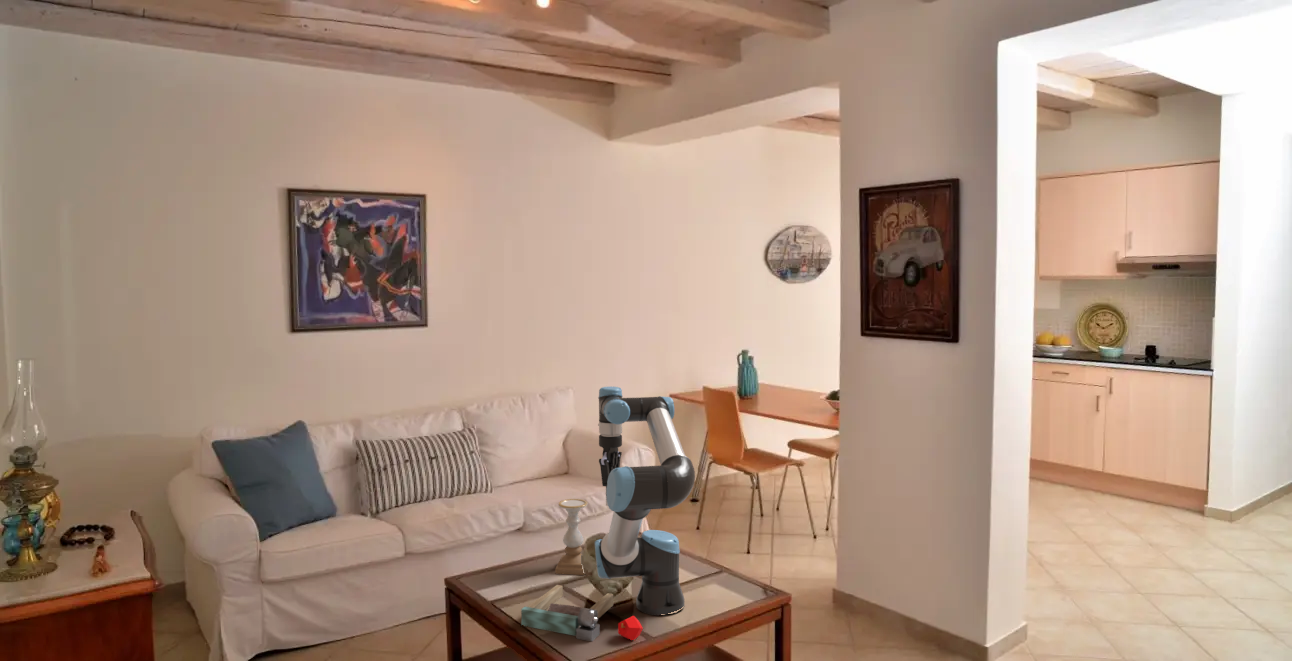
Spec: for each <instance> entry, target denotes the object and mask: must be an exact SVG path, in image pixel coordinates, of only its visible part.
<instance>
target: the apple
mask: <svg viewBox="0 0 1292 661" xmlns="http://www.w3.org/2000/svg"><path fill="white" fill-rule="evenodd" d="M617 626H618V628H617V633H618V634H619V635H620V636H621V637H623V638H624V639H628V640H629V639H630V640H629V641H632V640H634V639H635V640H636V638H637V637H638V636H639V637H640V635H641V634H642V631H643V629H644V628H643V626H642V624H641V622H640V620H638V618H637V617H636V616H635V615H632V616H630V617H628V618H626V619H623V620H621V621H620V622H618V623H617ZM639 637H638V638H639ZM638 638H637V639H638ZM635 640H634V641H635Z"/></svg>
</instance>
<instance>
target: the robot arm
mask: <svg viewBox="0 0 1292 661" xmlns="http://www.w3.org/2000/svg"><path fill="white" fill-rule="evenodd" d="M622 391H623V389H622V388H621V387H618V386H602V387H600V388H599V390H598V397H597V398H598V424H597V426H598V433H599V435H598V446H599V447H600V448H602V449H603V450H602V458H599V459H598V463H599V466H600V475H601V484H602V487H605V506H606V507H608V509H609V510H611V511H612V512H613V513H612V518H611V521H610V526H609V531H608V532H607V533H606V534H605V535H604V536H603V537H602V539H601V538H600V539H597V540H595V541H594V550H595V551H594V552H595V562H596V569H597V570H596V572H597V576H598V577H599V578H600V579H608V580H610V579H617V578H628V577H629V578H631V577H641V584H640V587H639V589H638V593H637V596H636V601H635V602H636V603H635V604H636V608H637V610H638V611H639V612H642V613H644V614H647V615H651V616H659V615H661V614H668V613H671V612H674V611H677V610H679V609H681V608H682V607H683V606H684V607H685V597H684V594H683V591H682V587H681V585H680V553H681V551H680V541H679V538H678V537H677V536H676V535H675V534H673V533H671V532H668V531H665V530H659V529H658V530H657V529H648V530H645V531H642V534H641V536H640V537H638V536H639V533H640V530H641V527H642V522H643V520H644V519H645V518H646V517H647V516H648V515H649V514H650V512H651V510H660V509H661V510H662V509H672V508H675V507H677V506H678V505H680V504H682V503H683V502H684V501H685V500H686V499H687V498H688V496H690V494H691V492H692V490H693V488H694V486H695V482H696V471H695V468H694V465H693V462H692V460H691V459H690V458H689V457H688V456H686V453H685V450H684V449H683V448H684V447H683V445H682V443H681V440H680V438H679V435H678V433H677V429H676V427H675V424H674V422H673V419H674V416H675V404H674V403H675V402H674V400H673V398H672V397H669V396H645V397H642V396H641V397H640V396H639V397H623V392H622ZM630 422H633V423H634V422H646V423H647V427H648V429H649V432H650V436H651V439H652V442H653V445H654V447H655V452H656V454H657V458H658V461H659V463H660V465H644V466H627V465H625V466H620V465H621V457H622V454H623V452H622V451H619V448H621V447H622V446H623V435H622V434H623V424H625V423H630Z"/></svg>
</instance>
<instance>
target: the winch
mask: <svg viewBox="0 0 1292 661" xmlns="http://www.w3.org/2000/svg"><path fill="white" fill-rule="evenodd" d="M598 621H599V618H598V612H597V610H593V609H590V608H586V607H582V609H581V610H580V612H579V615H578V624H579V626H578V627H577V628H576V636H575V637H576V639H577V640H582V641H587V642H593V641H594V640H595V639H596V638H597V637H598V636H600V634H601V633H600V632H601V630H600V629H601V628H600V626H601V625H600V624H599V623H598Z"/></svg>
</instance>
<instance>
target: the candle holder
mask: <svg viewBox="0 0 1292 661" xmlns="http://www.w3.org/2000/svg"><path fill="white" fill-rule="evenodd" d="M587 506H588V501H587V500H585V499H582V498H567V499H562V500H560V501H559V502H558V507H559V508H561V509H564V510H565V512H567V518H566V519H565V523H566V524H567V526H568V527H567V531H566V532H565V533H564V535H563V538H562V543H563V544H564V545H565V546H566V547H564V553H565V554H563V555H562V556H561V557H560V559H559V561H558V563H557V564H556V566H555V569H554V570H555V571H554V573H555V575H566V576H567V575H570V576H571V575H573V576H585V575H584V573H583V569H582V565H581V555H583V554H582V551H583V548H582V545H583V543H584V540H585V539H584V536H583V534H582V532H581V531H580V529H579V524H580V523H581V518H580V516H579V513H580V511H581V510H582V509H585V508H586V507H587Z"/></svg>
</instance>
